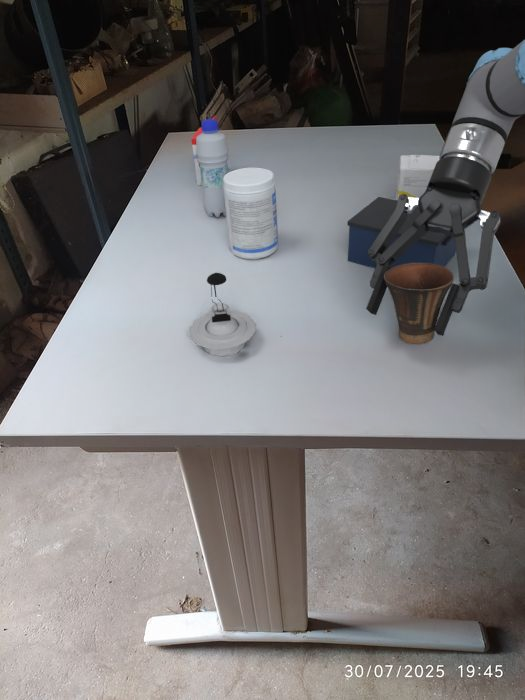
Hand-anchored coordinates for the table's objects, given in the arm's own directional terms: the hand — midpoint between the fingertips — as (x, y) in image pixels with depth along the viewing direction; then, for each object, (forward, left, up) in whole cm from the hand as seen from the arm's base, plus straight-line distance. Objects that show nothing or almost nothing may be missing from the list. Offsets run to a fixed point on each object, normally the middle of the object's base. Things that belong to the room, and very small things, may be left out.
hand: (403, 322), depth 73 cm
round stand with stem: (+24, +10, -7) cm, 27 cm away
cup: (0, -3, -4) cm, 5 cm away
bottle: (+55, -27, -7) cm, 62 cm away
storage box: (+12, -28, -7) cm, 32 cm away
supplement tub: (+38, -17, -7) cm, 42 cm away
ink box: (+17, -46, -7) cm, 50 cm away
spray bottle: (+70, -42, -7) cm, 82 cm away
